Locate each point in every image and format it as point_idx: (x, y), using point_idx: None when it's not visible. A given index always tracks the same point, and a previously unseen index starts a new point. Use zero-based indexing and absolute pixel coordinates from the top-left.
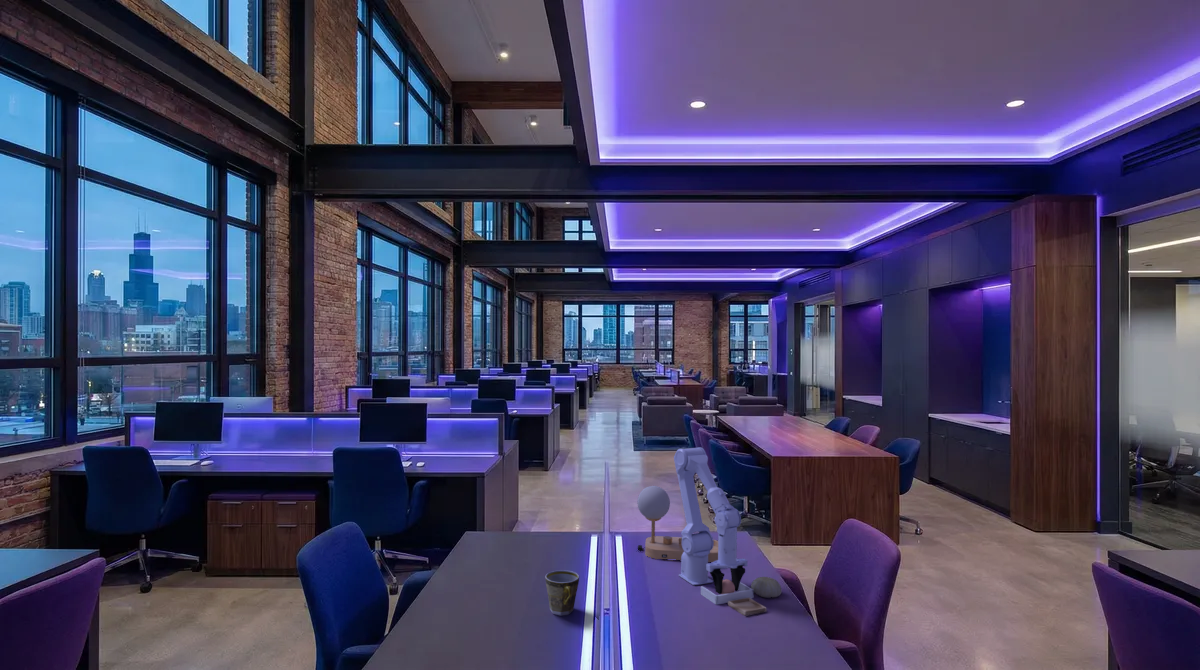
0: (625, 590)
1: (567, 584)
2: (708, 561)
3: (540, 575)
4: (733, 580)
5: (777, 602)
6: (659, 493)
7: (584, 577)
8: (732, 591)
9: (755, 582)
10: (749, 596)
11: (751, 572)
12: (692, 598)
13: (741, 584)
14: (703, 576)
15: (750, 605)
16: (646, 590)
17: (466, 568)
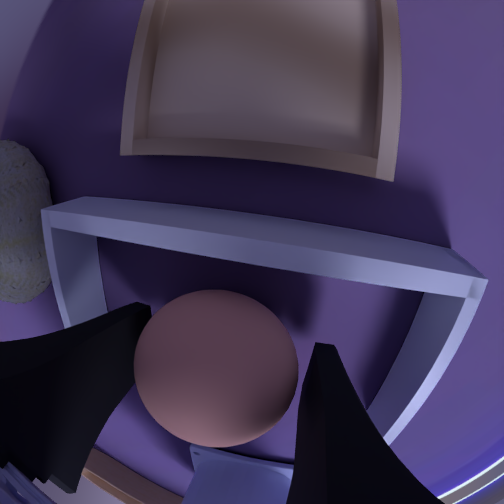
0: (496, 462)
1: None
2: (128, 471)
3: (488, 496)
4: (110, 386)
5: (37, 94)
6: None
7: (465, 499)
8: (208, 296)
9: (3, 263)
10: (100, 201)
11: None
12: (458, 389)
13: None
14: (239, 486)
15: (201, 54)
16: (473, 462)
17: (501, 498)
